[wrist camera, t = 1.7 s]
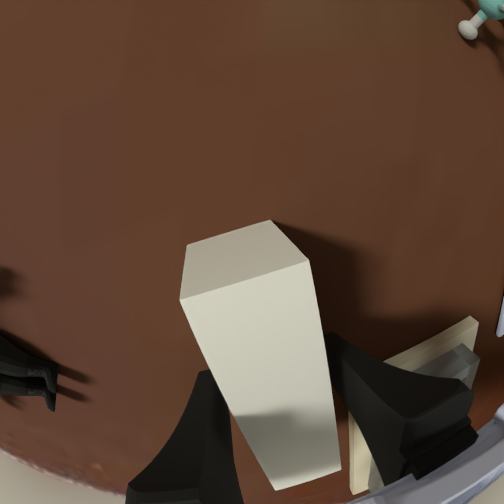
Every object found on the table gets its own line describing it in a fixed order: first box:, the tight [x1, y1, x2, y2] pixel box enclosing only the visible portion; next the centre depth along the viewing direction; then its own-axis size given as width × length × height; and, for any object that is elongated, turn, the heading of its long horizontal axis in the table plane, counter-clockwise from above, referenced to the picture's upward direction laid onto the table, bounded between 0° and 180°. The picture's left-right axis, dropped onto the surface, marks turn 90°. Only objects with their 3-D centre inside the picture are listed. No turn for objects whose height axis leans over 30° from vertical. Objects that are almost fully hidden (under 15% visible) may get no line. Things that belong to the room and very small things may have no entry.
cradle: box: [348, 316, 480, 495], centre depth 18 cm, size 10×18×3 cm, turn 15°
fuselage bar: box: [180, 220, 341, 490], centre depth 12 cm, size 4×12×5 cm, turn 16°
